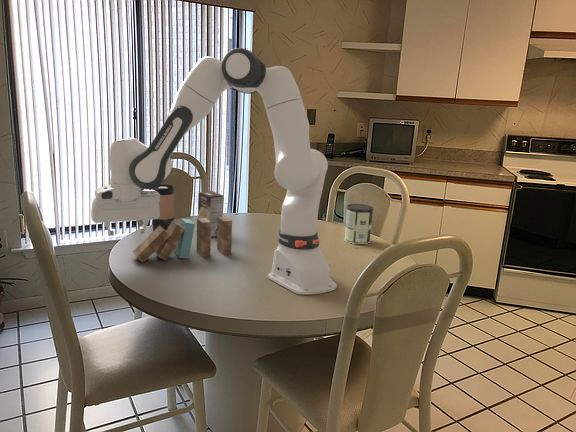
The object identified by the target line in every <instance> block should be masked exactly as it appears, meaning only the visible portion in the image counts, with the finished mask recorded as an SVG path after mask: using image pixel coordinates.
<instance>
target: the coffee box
mask: <svg viewBox="0 0 576 432" xmlns="http://www.w3.org/2000/svg"><path fill="white" fill-rule="evenodd" d="M197 205H198V206H197V208H198V209H197V210H198V212H197V215H198V216H197V218H206V219H208V220H209V221H210V222H211V238H213V237H217V235H218V217H224V195H223V194H221V193H218V192H216V191H213V190H209V191H208V190H207V191H199V192H198V204H197Z"/></svg>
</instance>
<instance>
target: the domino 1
mask: <svg viewBox="0 0 576 432" xmlns="http://www.w3.org/2000/svg"><path fill="white" fill-rule="evenodd" d="M184 229H185V228H184V227H183V226H182V225H181V224H180V222H177V221H175V220H174V221H173V220H172V222H171V223H170V225H169V227H168V229H167V230H166V232H167V233H168V234H169V235H170V237H169V238H168V239H167V240H166V241H165V242H164V243H163V244H162V245H161V246H160V247H159V248H158V249H157V250H156V251H155V252H154V254H156V256H157V257H158V258H159V259H161V260H163V261H167V260H168V258H169V257H170V256H171V253H172V252H173V250H174V248H176V245H177V241H178V240H179V238H180V236H181V235H182V233H183V231H184Z"/></svg>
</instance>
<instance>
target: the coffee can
mask: <svg viewBox="0 0 576 432" xmlns="http://www.w3.org/2000/svg"><path fill="white" fill-rule="evenodd" d="M373 211H374V207H373V206H372V205H371V206H370V205H367V204H362V203H361V204H360V203H350V204H347V205H346V216H345V228H344V238H343V241H344V242H345V241H346V242H345V243H347V242H348V244H350V243H352V244H351V245H355V244H366V245H369V244H370V243H371V231H372V222H373ZM368 243H369V244H368Z"/></svg>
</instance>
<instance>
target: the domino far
mask: <svg viewBox="0 0 576 432" xmlns="http://www.w3.org/2000/svg"><path fill="white" fill-rule="evenodd" d="M169 237H170V235H169V234H168V233H167V232H166V231H165V230H164V229H163V228H162V227H161V226H160V225H159V226H158V227H157V228H156V229H155V230H154V231H153V230H152V232H151V233H150V234H149V235H148V236H147V237H146V238H145V239H144V240H143V241H142V242H141V243H140V244H139V245H138V246H137V247H136V248H135V249H133V251H132V253H133V254H134V257H135V258H137V260H138V261H140V262H141V263H142V264H143V263H145V261H147V260H148V259H149V257H151V256H152V255H153V254H155V251H156V250H157V249H158V248H159V247H160V246H161V245H162V244H163V243H164V242H165V241H166V240H167V239H168V238H169Z"/></svg>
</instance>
